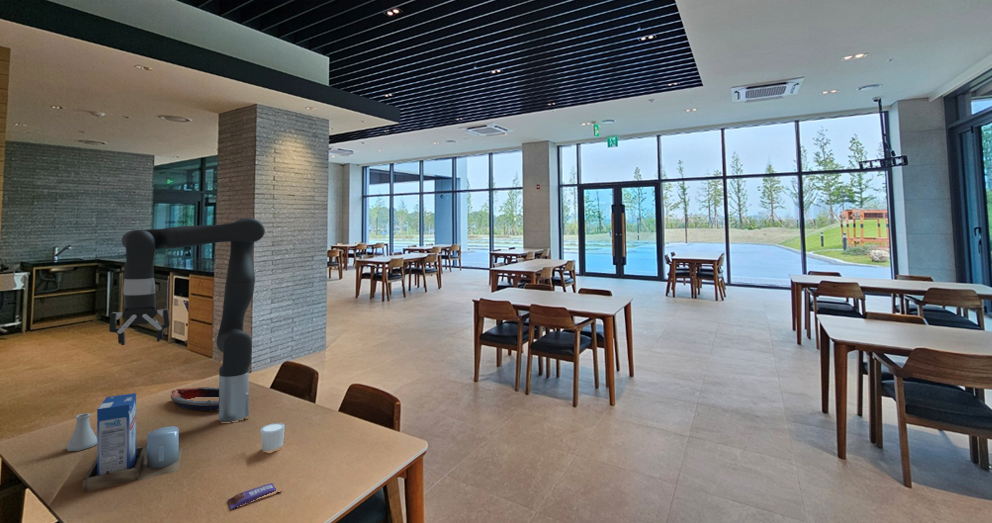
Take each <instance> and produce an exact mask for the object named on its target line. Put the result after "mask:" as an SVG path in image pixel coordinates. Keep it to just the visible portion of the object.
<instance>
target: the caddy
mask: <svg viewBox="0 0 992 523" xmlns="http://www.w3.org/2000/svg"><path fill="white" fill-rule="evenodd" d="M183 450H184V447H179V456H178V461H177V462H175V463H174V464H172V465H170V466H167V467H164V468H159V469H149V468H147V445H142V446H136V462H135V465H134V467H133V468H132V469H127V470H123V471H118V472H113V473H109V474H104V475H100V476H97V456H96V458H95V459H94V461H93V462H92V465H91V466H90V467H89V469H88V471H87V472H86V474H85V476H84V477H83V478H82V493H88V492H92V491H95V490H101V489H105V488H109V487H112V486H117V485H118V486H119V485H123V484H126V483H131V482H134V481H135V482H136V481H140V480H143V479H149V478H152V477H156V476H162V475H166V474H169V473H176V472H179V467H180V463H181V460H182V455H183Z"/></svg>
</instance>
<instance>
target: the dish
mask: <svg viewBox="0 0 992 523" xmlns="http://www.w3.org/2000/svg"><path fill="white" fill-rule="evenodd" d="M195 397H219V387H213V386H211V387H210V386H208V387H207V386H203V387H200V386H199V387H185V388H176V389H173V390H171V395H170V400H171V401H172V402H173V404H174V405H175V406H177V407H179V408H182V409H185V410H189V409H190V411H197V410H202V412H203V411H204V412H207V411H206V410H215V411H218V410H217V409H219V401H210V400H208V401H193V400H187V399H191V398H195Z"/></svg>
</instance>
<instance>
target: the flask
mask: <svg viewBox="0 0 992 523" xmlns="http://www.w3.org/2000/svg"><path fill="white" fill-rule="evenodd" d="M74 417H75V419H76V424H75V427H74V431H73V432H72V434H71V437H70V439H69V441H68V443H67V445H66V446H65V450H67V451H68V452H79V451H84V450H86V449H90V448H92V447H94V446H97V435H96V434H95V432H94V430H93V428H92V426H91V423H90V417H91V413H89V412H88V413H87V412H86V413H80V414H77V415H76V416H74Z"/></svg>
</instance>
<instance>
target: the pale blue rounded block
mask: <svg viewBox="0 0 992 523" xmlns="http://www.w3.org/2000/svg"><path fill="white" fill-rule="evenodd" d="M179 432H180V431H179V427H177V426H165V427H159V428H157V429H153V430H151V431H149V432H148V433H147V434H146V446H147V468H149V469H159V468H164V467H167V466H170V465H172V464H174V463H175V462H177V461H178V456H179V448H180V447H179V446H180V445H179V442H180V441H179V440H180V439H179V438H180V437H179Z"/></svg>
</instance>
